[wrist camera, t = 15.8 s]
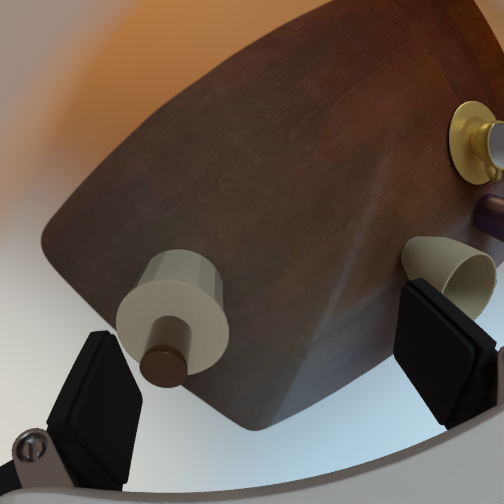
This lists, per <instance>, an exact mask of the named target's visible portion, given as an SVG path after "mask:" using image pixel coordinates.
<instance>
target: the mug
mask: <svg viewBox="0 0 504 504" xmlns="http://www.w3.org/2000/svg"><path fill="white" fill-rule="evenodd" d="M401 262H402V265H403V267H404V269H405V271H406V274H407V276H408V278H409V280H414V279H418V278H423V279H425V280H426V281H427V282H429V283H430V284H431V285H432V286H433V287H435V288H436V289H437V290H438V291H439V292H441V293H442V294H443V295H444V296H445V297H447V298H448V299H449V300H450V301H451V302H452V303H454V304H455V305H456V306H457V307H458V308H459V309H460V310H462V311H463V312H464V313H465V314H466V315H467V316H468V317H470V318H471V319H472V320H473V321H474V320H475V319H476V318H477V317H478V316H479V315H480V314H481V313H482V311H483V310H484V309H485V307H486V305H487V304H488V302H489V300H490V298H491V296H492V294H493V291H494V288H495V286H496V282H497V279H496V267H495V263H494V261H493V259H492V258H491V257H490V256H489V255H488V254H486V253H484V252H482V251H479V250H477V249H475V248H472V247H470V246H468V245H465V244H463V243H461V242H458V241H455V240H453V239H449V238H444V237H423V236H417V237H413V238H411V239H410V240H409V241H408V242H407V243H406V244H405V245H404V247H403V249H402V252H401Z"/></svg>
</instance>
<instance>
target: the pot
mask: <svg viewBox="0 0 504 504" xmlns="http://www.w3.org/2000/svg"><path fill="white" fill-rule="evenodd" d="M161 278H173V279H180V280H184V281H187V282H190V283H193V284H195V285H197V286H199V287H201V288H203V289H204V290H205V291H207V292H208V293H209V294H211V295H212V296H213V297H214V298H215V299H216V300H217V301H218V303H219V304H220V305H221V307H222V308H223V310H224V294H223V282H222V279H221V277H220V274H219V272H218V271H217V269H216V268H215V266H214V265H213V264H212V263H211V262H210V261H209V260H208V259H206V258H205V257H203V256H201V255H200V254H198V253H195V252H192V251H189V250H182V249H175V250H168V251H165V252H162V253H160V254H158V255H156V256H154V257H153V258H152V259H151V260H150V261H149V262H148V263H147V264H146V265H145V267H144V268H143V269H142V271H141V272H140V274H139V276H138V278H137V280H136V281H135V283H134V285H133V287H132V289H133V288H135V287H136V286H138V285H140V284H142V283H144V282H147V281H150V280H154V279H161ZM132 289H131V290H132Z"/></svg>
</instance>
